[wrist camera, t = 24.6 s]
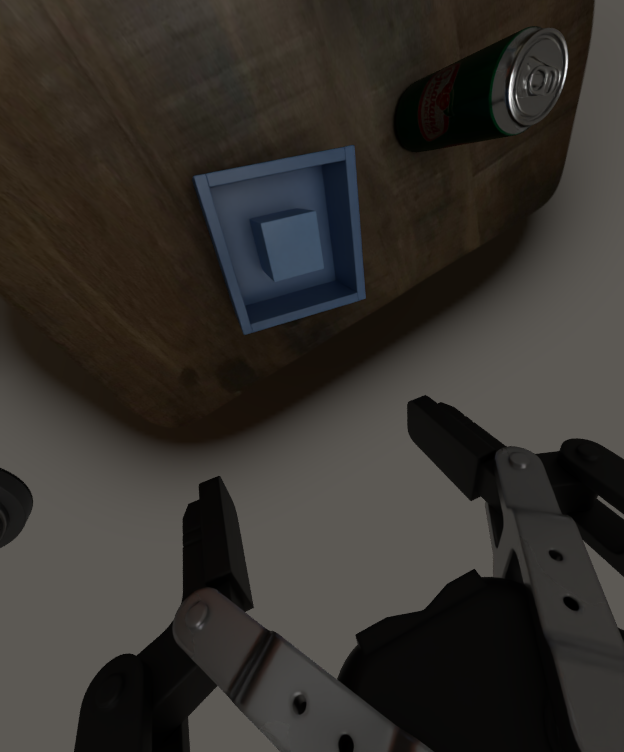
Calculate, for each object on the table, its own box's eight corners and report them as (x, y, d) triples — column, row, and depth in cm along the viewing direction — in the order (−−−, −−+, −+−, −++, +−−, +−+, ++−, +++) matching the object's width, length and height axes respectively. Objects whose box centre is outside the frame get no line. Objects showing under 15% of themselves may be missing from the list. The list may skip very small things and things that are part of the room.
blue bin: (235, 313, 31) (244, 335, 27) (191, 179, 25) (193, 175, 20) (340, 283, 33) (366, 298, 29) (325, 153, 27) (354, 144, 22)
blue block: (262, 270, 29) (274, 282, 25) (249, 218, 27) (260, 223, 23) (305, 258, 30) (324, 268, 26) (296, 207, 28) (315, 210, 24)
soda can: (396, 77, 26) (522, 8, 16) (445, 85, 28) (588, 25, 18) (388, 151, 29) (493, 130, 19) (434, 154, 30) (552, 135, 20)
